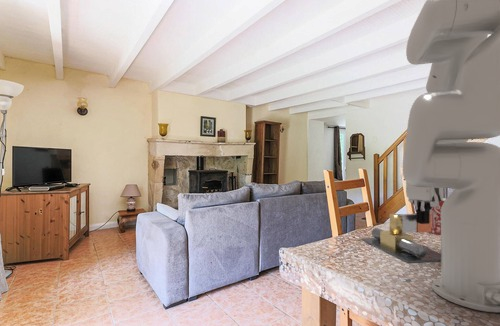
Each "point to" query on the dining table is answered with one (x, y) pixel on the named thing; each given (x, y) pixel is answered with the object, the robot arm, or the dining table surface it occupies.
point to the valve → (401, 247)
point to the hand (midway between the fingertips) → (422, 223)
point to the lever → (407, 224)
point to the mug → (436, 218)
